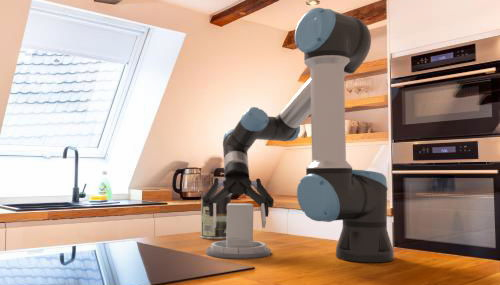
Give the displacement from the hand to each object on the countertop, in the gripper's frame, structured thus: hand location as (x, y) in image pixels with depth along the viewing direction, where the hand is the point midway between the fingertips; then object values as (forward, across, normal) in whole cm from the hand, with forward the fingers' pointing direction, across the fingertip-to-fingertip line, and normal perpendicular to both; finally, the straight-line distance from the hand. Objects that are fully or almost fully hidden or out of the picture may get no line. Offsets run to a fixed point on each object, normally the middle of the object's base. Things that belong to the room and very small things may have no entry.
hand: (239, 224), depth 135 cm
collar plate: (+4, 0, -7) cm, 8 cm away
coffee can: (-18, +5, -30) cm, 35 cm away
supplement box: (+4, 0, -7) cm, 8 cm away
